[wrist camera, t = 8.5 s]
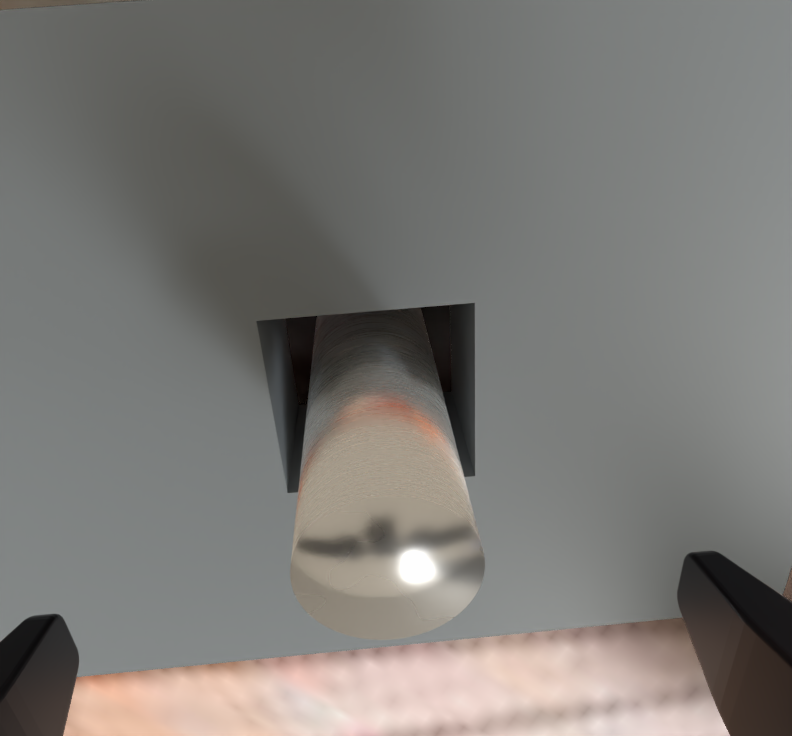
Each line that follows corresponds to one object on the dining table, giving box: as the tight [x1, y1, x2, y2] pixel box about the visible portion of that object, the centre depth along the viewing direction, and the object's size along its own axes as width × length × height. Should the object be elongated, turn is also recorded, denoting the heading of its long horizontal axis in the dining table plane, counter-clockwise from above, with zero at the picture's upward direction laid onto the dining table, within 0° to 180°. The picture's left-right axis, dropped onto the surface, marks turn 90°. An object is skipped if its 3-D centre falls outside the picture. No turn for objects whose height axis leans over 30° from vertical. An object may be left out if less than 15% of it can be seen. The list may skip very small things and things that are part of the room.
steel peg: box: [290, 307, 485, 640], centre depth 14 cm, size 3×3×9 cm
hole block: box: [0, 0, 792, 677], centre depth 16 cm, size 22×16×4 cm
